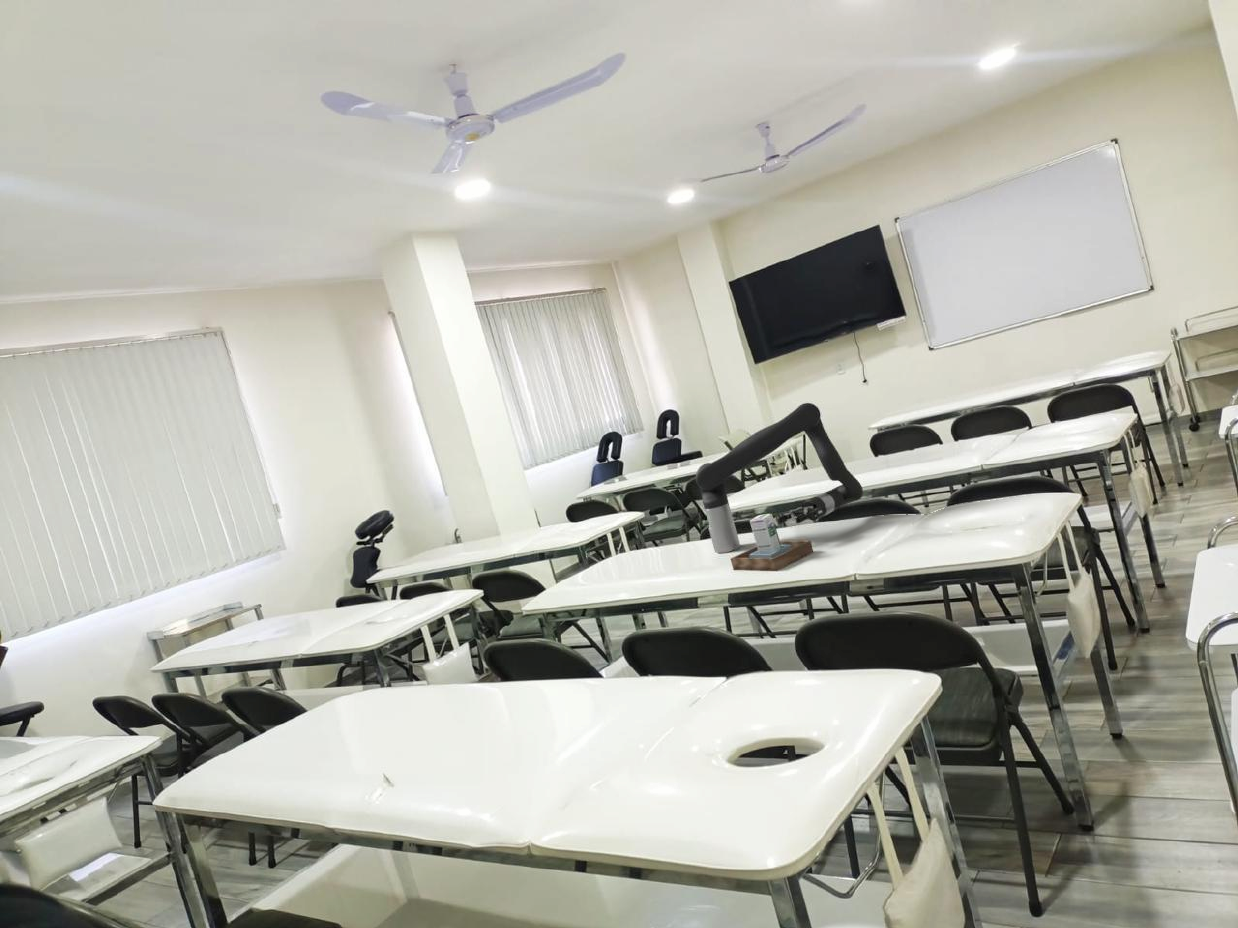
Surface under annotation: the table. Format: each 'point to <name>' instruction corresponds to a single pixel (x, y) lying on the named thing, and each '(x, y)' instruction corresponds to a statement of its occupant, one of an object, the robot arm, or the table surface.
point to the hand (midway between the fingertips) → (787, 520)
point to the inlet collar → (772, 555)
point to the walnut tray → (772, 564)
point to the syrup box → (765, 534)
